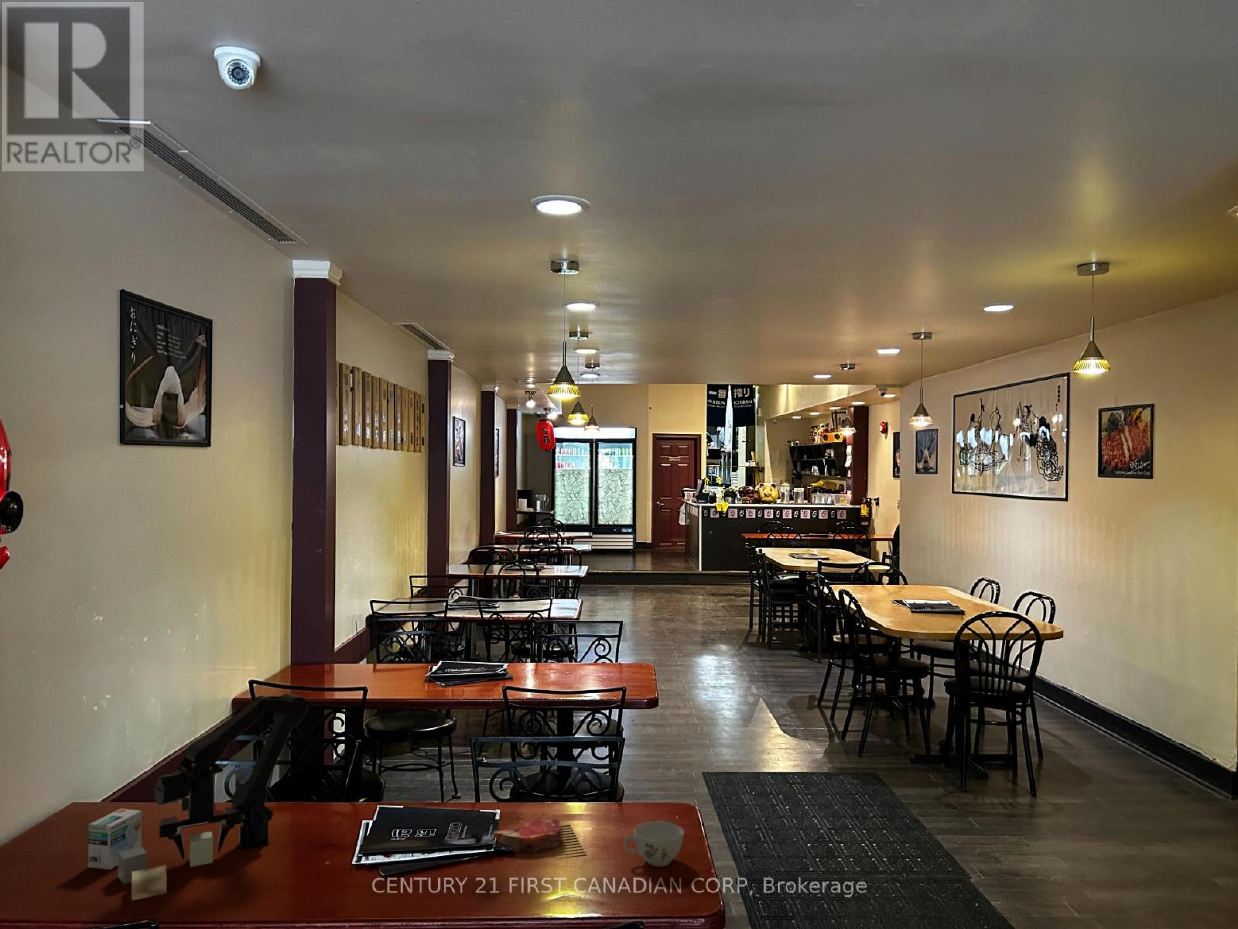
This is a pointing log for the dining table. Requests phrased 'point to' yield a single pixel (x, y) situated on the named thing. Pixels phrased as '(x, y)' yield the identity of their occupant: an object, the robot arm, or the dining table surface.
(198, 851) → the sage block
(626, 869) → the dining table surface
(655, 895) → the dining table surface
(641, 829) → the teacup
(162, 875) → the maple base
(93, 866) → the light bulb box
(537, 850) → the steak
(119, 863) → the grey block
